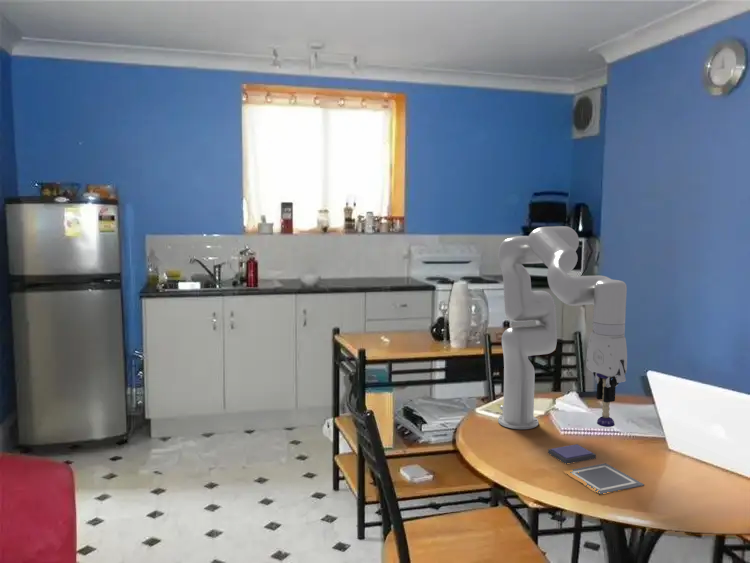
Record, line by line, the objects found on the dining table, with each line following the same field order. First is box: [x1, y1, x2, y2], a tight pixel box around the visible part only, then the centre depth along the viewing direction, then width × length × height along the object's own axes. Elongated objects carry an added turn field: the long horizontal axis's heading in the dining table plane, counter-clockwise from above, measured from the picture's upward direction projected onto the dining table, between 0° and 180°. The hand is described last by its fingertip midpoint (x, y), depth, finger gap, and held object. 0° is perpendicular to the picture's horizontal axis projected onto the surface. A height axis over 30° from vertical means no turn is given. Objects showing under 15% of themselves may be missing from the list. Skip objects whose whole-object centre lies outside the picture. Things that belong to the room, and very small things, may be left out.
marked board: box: [570, 462, 645, 495], centre depth 166 cm, size 14×14×1 cm
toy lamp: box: [596, 373, 615, 428], centre depth 164 cm, size 5×5×17 cm
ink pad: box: [547, 443, 597, 465], centre depth 181 cm, size 8×10×2 cm
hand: (605, 399), depth 164 cm, fingers closed on toy lamp
